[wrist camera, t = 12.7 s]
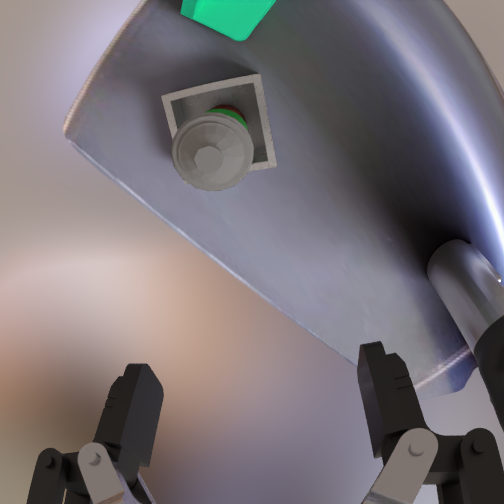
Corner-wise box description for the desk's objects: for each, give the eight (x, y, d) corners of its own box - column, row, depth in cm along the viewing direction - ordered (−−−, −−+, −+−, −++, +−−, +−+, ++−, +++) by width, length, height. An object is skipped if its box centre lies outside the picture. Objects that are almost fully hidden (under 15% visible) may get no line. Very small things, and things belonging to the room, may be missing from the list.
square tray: (258, 73, 31) (260, 73, 27) (274, 155, 37) (276, 166, 33) (171, 92, 32) (161, 96, 28) (191, 171, 38) (185, 184, 34)
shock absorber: (235, 159, 36) (226, 215, 24) (187, 134, 35) (151, 177, 22) (263, 114, 33) (271, 144, 21) (214, 87, 32) (189, 100, 19)
